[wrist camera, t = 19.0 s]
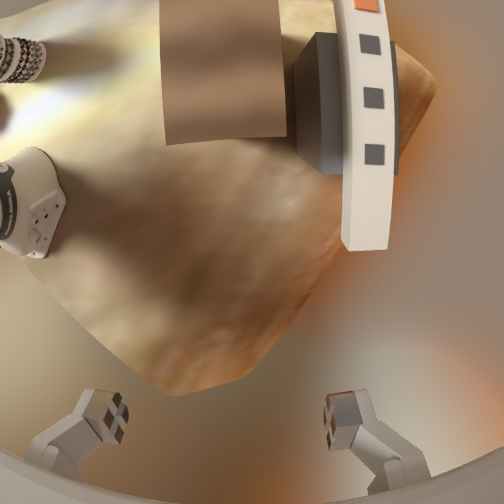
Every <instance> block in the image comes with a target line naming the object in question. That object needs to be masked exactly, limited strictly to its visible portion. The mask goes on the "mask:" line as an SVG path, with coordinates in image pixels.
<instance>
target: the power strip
mask: <svg viewBox="0 0 504 504" xmlns="http://www.w3.org/2000/svg"><path fill="white" fill-rule="evenodd" d="M333 4H334V11H335V20H336V29H337V39H338V49H339V61H340V76H341V93H342V118H343V199H342V225H341V240H342V242H343V243H344V245H345V246H346V248H347V249H348V251H362V250H383V249H387V246H388V238H389V229H390V219H391V207H392V193H393V177H394V145H395V120H394V89H393V73H392V60H391V50H390V41H389V33H388V25H387V18H386V11H385V5H384V0H333Z"/></svg>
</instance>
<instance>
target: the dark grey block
mask: <svg viewBox="0 0 504 504" xmlns="http://www.w3.org/2000/svg"><path fill="white" fill-rule="evenodd" d="M390 50H391V60H392V73H393V89H394V120H395V145H394V175H398V164H399V95H398V76H397V63H396V52H395V42H394V41H390ZM293 70H294V87H295V107H296V130H297V154H298V155H299V156H300V157H301V158H303V159H304V160H305V161H307V162H308V163H309V164H310V165H312V166H313V167H314V168H315V169H317V170H318V171H319V172H320V173H321V174H343V118H342V93H341V76H340V61H339V49H338V39H337V34H336V33H324V32H316V33H315V34H314V35H313V37H312V38H311V40H310V41H309V43H308V44H307V45H306V47H305V48H304V50H303V51H302V53H301V54H300V56H299V57H298V59H297V60H296V62H295V63H294V65H293Z"/></svg>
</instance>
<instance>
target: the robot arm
mask: <svg viewBox="0 0 504 504" xmlns="http://www.w3.org/2000/svg"><path fill="white" fill-rule="evenodd" d="M57 204H58V205H59V207H58V206H57ZM65 204H66V197H65V195H64V193H63V191H62V190H61V188H60V186H59V183H58V179H57V175H56V171H55V169H54V166H53V164H52V162H51V160H50V159H49V158H48V156H47V155H46V154H45V153H44V152H42V151H41V150H39V149H37V148H32V147H30V148H25V149H23V150H21V151H20V152H19V153H17V154H16V155H15V156H13V157H11V158H10V159H8V160H6V161H4V162H2V163H0V247H3V248H4V249H5V250H7V251H9V252H11V253H13V254H15V255H19V256H24V255H27V256H30V257H32V258H43V257H45V256H46V254H47V251H48V248H49V246H50V243H51V240H52V237H53V234H54V232H55V229H56V226H57V224H58V221H59V219H60V216H61V214H62V211H63V209H64V207H65ZM121 400H122V397H121V395H120V393H118V392H111V391H106V390H100V389H95V388H89V387H87V388H86V389H85V390H84V392H83V393H82V395H81V398H80V399H79V401H78V403H77V405H76V408H75V409H74V411H73V413H72V415H71V414H69V415H67V416H66V417H64V418H63V419H61V420H60V421H58V422H57V423H55V424H54V425H52V426H51V427H49V428H48V429H46V430H45V431H43V432H42V433H41V434H39V435H37V436H36V437H34V438H33V440H32V442H31V444H30V446H29V448H28V450H27V452H26V454H25V456H24V459H22V458H20V457H18V456H16V455H14V454H12V453H10V452H8V451H6V450H4V449H2V448H0V504H176V503H169V502H162V501H156V500H151V499H145V498H140V497H135V496H130V495H126V494H122V493H118V492H114V491H110V490H106V489H102V488H99V487H96V486H93V485H89V484H86V483H83V481H84V478H85V476H84V474H83V473H82V472H81V471H80V470H79V469H78V468H77V467H78V466H79V465H80V464H81V463H82V462H83V461H84V460H85V459H86V458H87V457H89V456H90V455H91V454H92V453H93V452H94V451H95V450H96V449H97V448H98V447H99V446H100V445H101V444H102V443H103V442H105V443H111V444H116V445H120V443H121V440H122V438H123V434H124V432H123V430H122V428H123V427H125V426H126V425H127V422H128V419H129V412H128V408H127V406H126V404H124V403H123V402H122V401H121ZM326 404H327V405H326V406H325V407H324V416H323V417H324V426H325V429H326V430H327V431H328V433H327V443H328V448H329V451H335V450H343V449H350V450H351V451H352V452H353V453H354V454H355V455H356V456H357V457H358V458H359V459H360V460H361V461H362V462H363V463H364V464H365V465H366V466H367V467H368V468H369V469H370V470H371V471H372V472H373V473H374V474H375V475H376V477H375V478H374V480H373V481H372V483H371V484H370V485H369V487H368V488H367V489H368V496H364V497H359V498H354V499H349V500H343V501H337V502H330V503H323V504H504V447H500V448H498V449H495V450H494V451H492V452H490V453H488V454H486V455H484V456H482V457H480V458H477V459H475V460H473V461H471V462H469V463H467V464H464V465H462V466H460V467H457V468H455V469H452V470H450V471H447V472H445V473H442V474H439V475H437V476H434V477H431V475H430V472H429V469H428V466H427V463H426V461H425V458H424V455H423V452H422V451H421V450H420V449H418V448H417V447H415V446H414V445H413V444H411V443H410V442H409V441H407V440H406V439H404V438H403V437H402V436H400V435H399V434H398V433H397V432H395V431H394V430H392V429H391V428H390V427H388V426H387V425H386V424H385V423H383V422H382V421H377V418H376V415H375V412H374V409H373V406H372V403H371V401H370V398H369V395H368V392H367V390H366V389H362V390H356V391H347V392H340V393H333V394H328V395H327V396H326Z"/></svg>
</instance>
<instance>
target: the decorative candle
mask: <svg viewBox="0 0 504 504" xmlns="http://www.w3.org/2000/svg"><path fill="white" fill-rule="evenodd" d="M45 61H46V49H45V46H44V45H43V44H42V43H39V42H36V41H32V42H31V40H28V41H27V40H26V39H20V38H15V37H14V38H3V37H2V35H0V83H2V82H3V83H7V82H8V83H28V82H31V81H33V80H34V79H35V78H37V76H38V75H39V74H40V72H41V71H42V69H43V66H44V64H45Z"/></svg>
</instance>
